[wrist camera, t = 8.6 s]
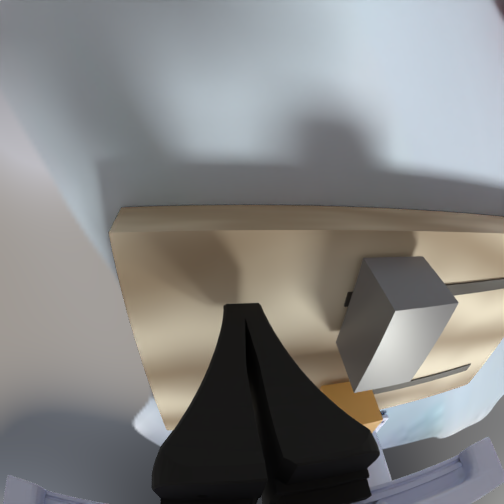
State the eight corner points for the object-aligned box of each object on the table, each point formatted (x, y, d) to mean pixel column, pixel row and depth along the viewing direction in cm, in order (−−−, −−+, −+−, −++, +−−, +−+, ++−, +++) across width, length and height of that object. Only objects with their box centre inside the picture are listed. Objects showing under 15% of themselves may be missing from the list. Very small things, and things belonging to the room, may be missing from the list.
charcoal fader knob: (388, 335, 15) (410, 381, 13) (335, 342, 15) (353, 392, 12) (422, 256, 12) (458, 302, 10) (363, 257, 12) (395, 311, 10)
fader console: (459, 368, 24) (468, 384, 23) (167, 406, 21) (166, 431, 20) (542, 220, 16) (560, 236, 14) (121, 207, 12) (107, 234, 11)
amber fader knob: (345, 416, 20) (355, 451, 18) (305, 422, 20) (313, 459, 18) (367, 378, 18) (383, 419, 15) (321, 385, 17) (333, 430, 15)
